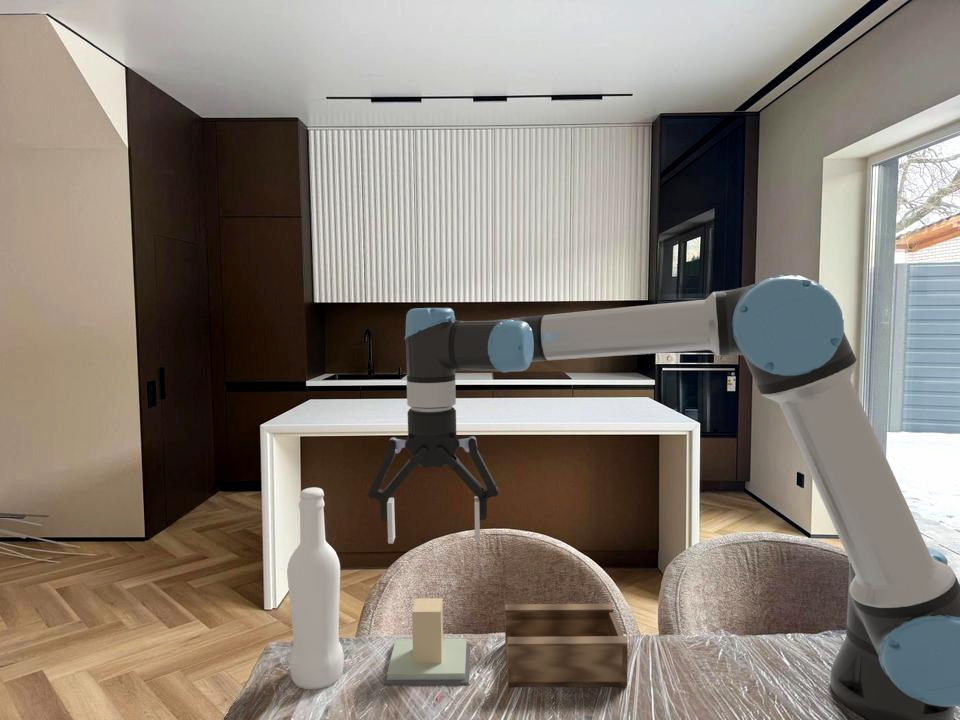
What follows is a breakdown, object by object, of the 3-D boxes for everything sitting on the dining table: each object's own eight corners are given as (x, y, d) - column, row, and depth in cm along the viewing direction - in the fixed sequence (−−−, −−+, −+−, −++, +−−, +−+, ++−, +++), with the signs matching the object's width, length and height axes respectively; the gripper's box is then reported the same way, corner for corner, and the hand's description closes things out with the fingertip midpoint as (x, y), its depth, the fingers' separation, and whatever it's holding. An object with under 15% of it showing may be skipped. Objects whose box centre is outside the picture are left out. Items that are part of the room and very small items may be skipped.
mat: (470, 645, 108) (470, 643, 108) (468, 684, 97) (468, 682, 97) (393, 646, 108) (393, 643, 108) (383, 685, 97) (383, 682, 97)
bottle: (281, 675, 100) (274, 489, 97) (328, 655, 105) (322, 478, 102) (305, 699, 94) (298, 501, 91) (353, 677, 99) (348, 489, 96)
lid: (466, 644, 108) (465, 590, 107) (464, 679, 98) (464, 620, 97) (395, 644, 108) (394, 590, 107) (386, 679, 98) (385, 620, 97)
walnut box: (610, 642, 108) (611, 603, 108) (627, 686, 96) (627, 643, 95) (505, 643, 108) (505, 604, 108) (508, 687, 96) (507, 643, 95)
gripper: (510, 402, 102) (512, 530, 104) (356, 404, 102) (360, 532, 104) (513, 410, 95) (514, 547, 97) (346, 412, 95) (351, 550, 97)
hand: (434, 540), depth 101 cm, fingers open, 13 cm apart
